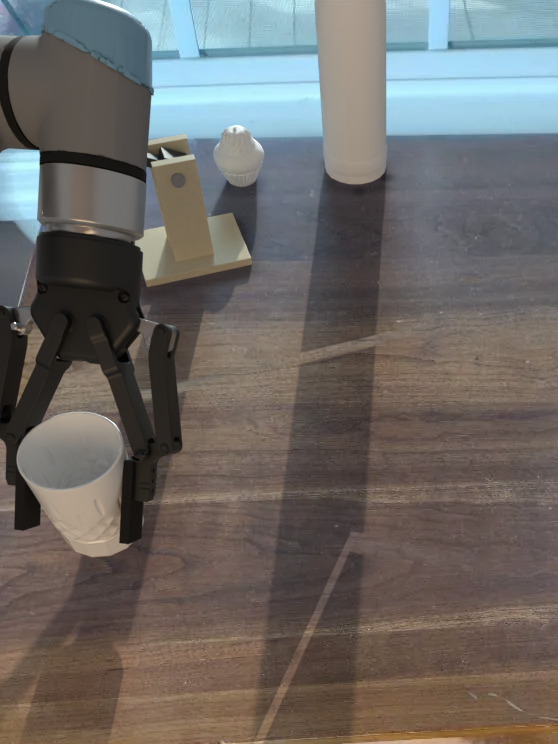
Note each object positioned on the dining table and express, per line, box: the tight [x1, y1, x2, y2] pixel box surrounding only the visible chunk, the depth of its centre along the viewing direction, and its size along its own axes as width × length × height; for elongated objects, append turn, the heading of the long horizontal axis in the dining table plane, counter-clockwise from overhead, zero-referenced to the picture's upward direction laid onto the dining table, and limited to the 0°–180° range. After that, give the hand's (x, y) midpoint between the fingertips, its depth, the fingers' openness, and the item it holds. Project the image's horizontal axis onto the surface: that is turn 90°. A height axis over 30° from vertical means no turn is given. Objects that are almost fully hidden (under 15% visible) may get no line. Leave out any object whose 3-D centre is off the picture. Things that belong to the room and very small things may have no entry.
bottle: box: [313, 0, 388, 185], centre depth 97 cm, size 8×8×30 cm
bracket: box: [135, 133, 253, 288], centre depth 94 cm, size 12×9×13 cm
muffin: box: [212, 124, 265, 188], centre depth 105 cm, size 6×6×7 cm
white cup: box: [17, 411, 145, 558], centre depth 70 cm, size 8×8×10 cm
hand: (78, 533), depth 69 cm, fingers closed on white cup, 8 cm apart
